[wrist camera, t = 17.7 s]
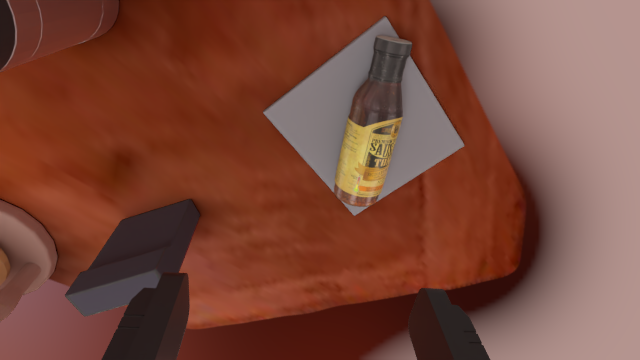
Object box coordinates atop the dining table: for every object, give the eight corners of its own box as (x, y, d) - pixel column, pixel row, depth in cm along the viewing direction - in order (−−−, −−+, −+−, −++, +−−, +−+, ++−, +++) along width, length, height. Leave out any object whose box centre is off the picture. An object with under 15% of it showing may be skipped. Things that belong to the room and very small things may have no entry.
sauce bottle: (360, 216, 46) (402, 47, 36) (322, 193, 49) (350, 32, 39) (388, 198, 50) (432, 44, 40) (352, 178, 53) (384, 31, 44)
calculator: (135, 238, 56) (86, 322, 43) (118, 216, 53) (62, 297, 40) (203, 218, 54) (175, 297, 41) (189, 194, 52) (154, 270, 39)
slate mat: (353, 212, 55) (354, 215, 55) (263, 110, 47) (263, 113, 46) (462, 143, 51) (464, 145, 50) (384, 16, 42) (386, 16, 42)
